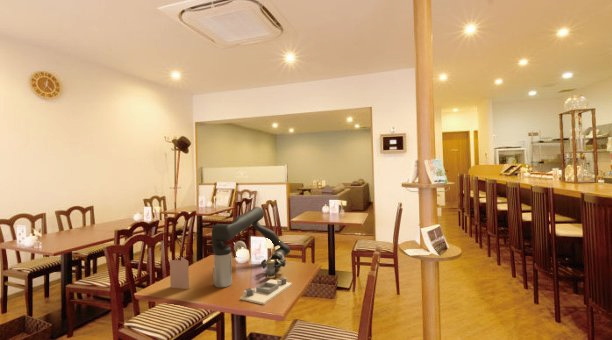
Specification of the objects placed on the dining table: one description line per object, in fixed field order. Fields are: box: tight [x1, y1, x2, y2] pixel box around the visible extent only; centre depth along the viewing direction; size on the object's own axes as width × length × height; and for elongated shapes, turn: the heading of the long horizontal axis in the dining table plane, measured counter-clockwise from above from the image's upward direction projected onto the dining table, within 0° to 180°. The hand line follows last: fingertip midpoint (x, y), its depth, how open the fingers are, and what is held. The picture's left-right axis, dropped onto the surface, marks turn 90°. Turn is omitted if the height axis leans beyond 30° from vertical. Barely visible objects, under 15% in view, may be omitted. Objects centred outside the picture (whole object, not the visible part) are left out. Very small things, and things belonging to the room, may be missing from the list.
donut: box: [233, 240, 247, 253], centre depth 224 cm, size 10×4×10 cm, turn 71°
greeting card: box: [169, 256, 190, 290], centre depth 163 cm, size 11×7×15 cm, turn 41°
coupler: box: [266, 258, 276, 280], centre depth 175 cm, size 5×5×10 cm
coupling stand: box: [239, 277, 293, 306], centre depth 154 cm, size 14×26×4 cm, turn 152°
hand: (270, 267), depth 175 cm, fingers open, 8 cm apart
